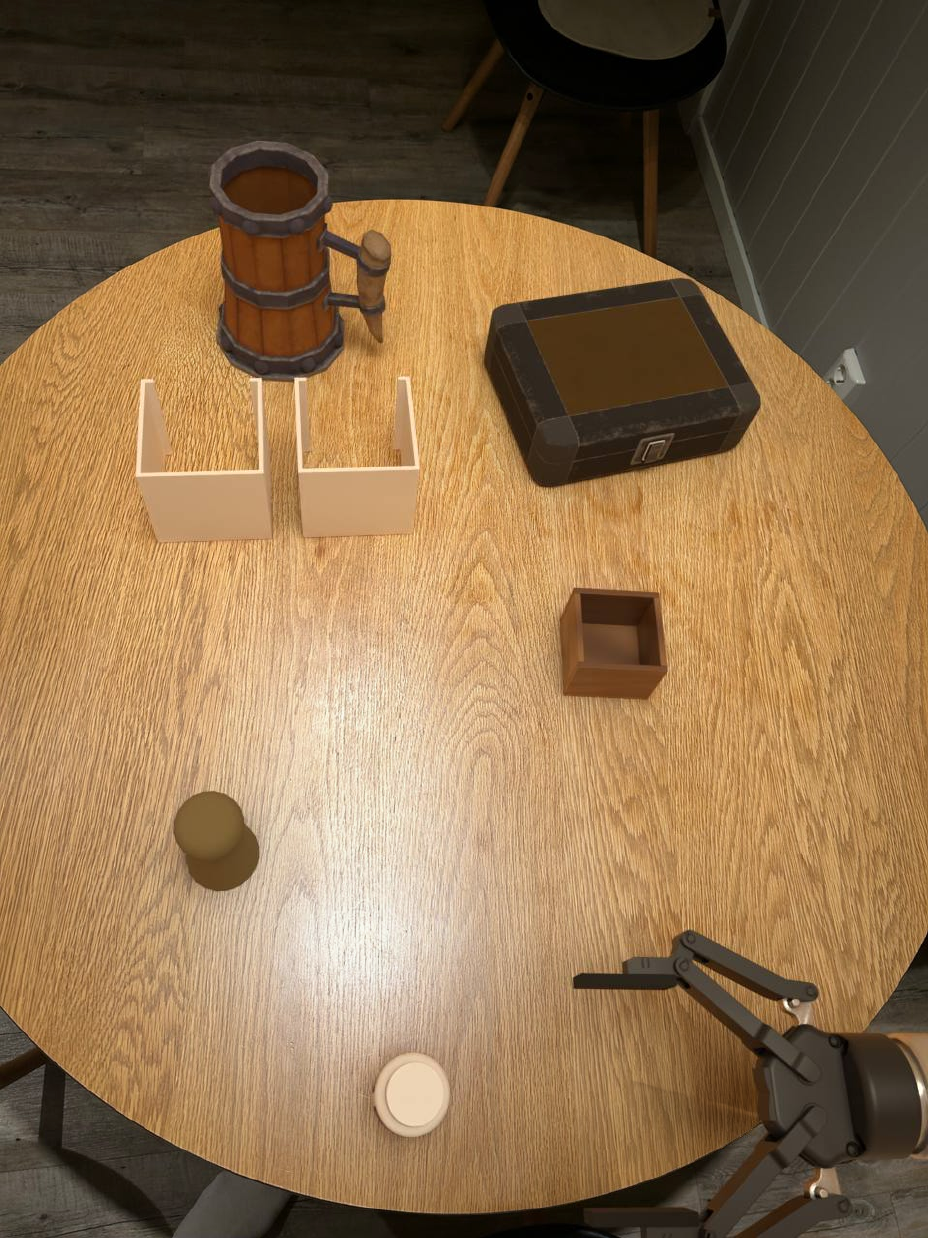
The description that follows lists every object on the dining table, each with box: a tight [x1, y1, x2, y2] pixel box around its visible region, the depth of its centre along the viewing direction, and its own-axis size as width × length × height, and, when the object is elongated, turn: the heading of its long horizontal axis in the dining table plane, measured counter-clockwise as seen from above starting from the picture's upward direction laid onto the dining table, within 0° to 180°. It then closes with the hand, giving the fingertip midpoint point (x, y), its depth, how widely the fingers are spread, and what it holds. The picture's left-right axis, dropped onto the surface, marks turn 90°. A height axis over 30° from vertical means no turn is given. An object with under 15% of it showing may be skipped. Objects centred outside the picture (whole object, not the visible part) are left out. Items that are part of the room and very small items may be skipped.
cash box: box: [483, 277, 762, 487], centre depth 103 cm, size 25×20×8 cm
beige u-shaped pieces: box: [135, 376, 421, 544], centre depth 91 cm, size 25×11×11 cm, turn 96°
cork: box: [172, 790, 260, 892], centre depth 74 cm, size 6×6×11 cm
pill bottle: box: [371, 1051, 451, 1138], centre depth 68 cm, size 5×5×10 cm
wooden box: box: [559, 587, 669, 700], centre depth 89 cm, size 8×8×6 cm
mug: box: [207, 140, 393, 383], centre depth 97 cm, size 19×14×20 cm
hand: (581, 1093), depth 61 cm, fingers open, 13 cm apart
